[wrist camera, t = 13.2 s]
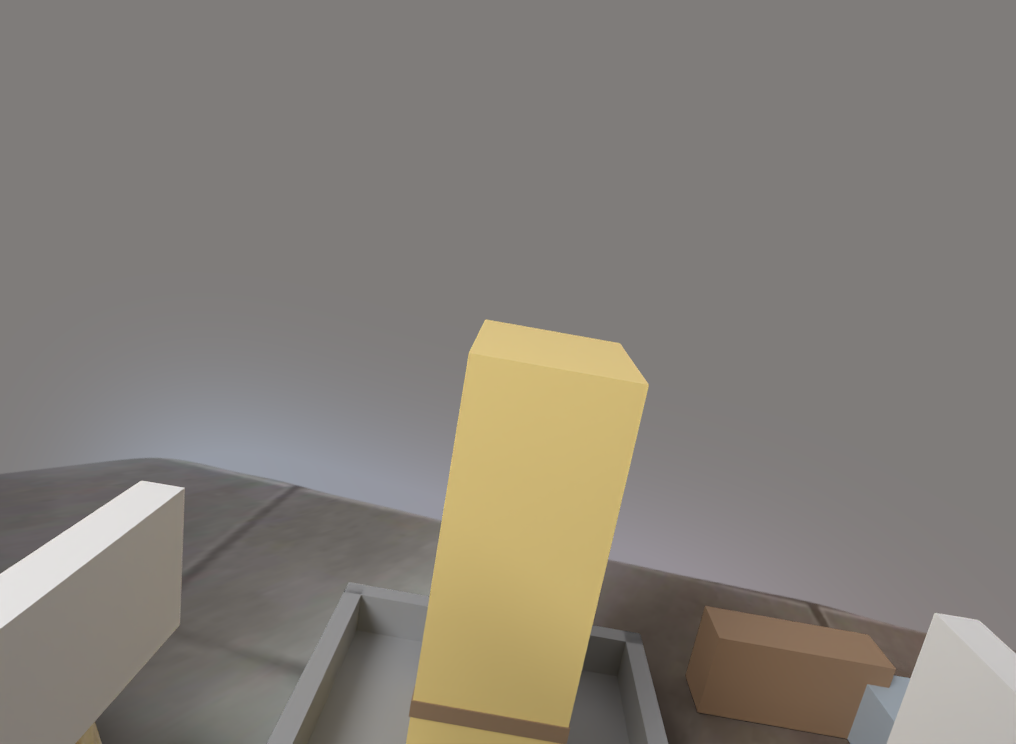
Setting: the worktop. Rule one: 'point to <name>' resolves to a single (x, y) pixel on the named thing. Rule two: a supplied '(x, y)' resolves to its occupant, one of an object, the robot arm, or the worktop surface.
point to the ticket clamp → (794, 676)
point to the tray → (393, 671)
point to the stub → (524, 535)
